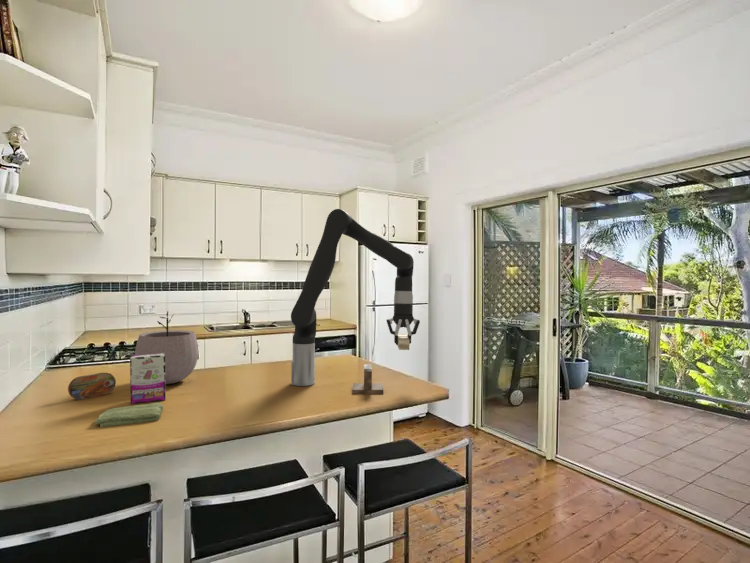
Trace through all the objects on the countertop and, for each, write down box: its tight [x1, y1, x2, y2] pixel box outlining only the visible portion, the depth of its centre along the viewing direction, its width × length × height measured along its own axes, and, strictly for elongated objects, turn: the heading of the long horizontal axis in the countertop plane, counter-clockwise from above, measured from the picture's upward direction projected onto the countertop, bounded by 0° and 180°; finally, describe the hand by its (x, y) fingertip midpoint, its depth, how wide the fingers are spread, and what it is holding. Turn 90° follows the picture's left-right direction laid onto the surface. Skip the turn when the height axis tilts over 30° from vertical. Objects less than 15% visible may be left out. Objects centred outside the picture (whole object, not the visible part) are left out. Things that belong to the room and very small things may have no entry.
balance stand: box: [351, 363, 384, 395], centre depth 171 cm, size 12×10×10 cm
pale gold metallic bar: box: [396, 333, 410, 351], centre depth 173 cm, size 16×4×4 cm, turn 0°
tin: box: [67, 372, 117, 401], centre depth 159 cm, size 15×3×8 cm, turn 143°
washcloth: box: [94, 402, 164, 428], centre depth 135 cm, size 13×18×3 cm
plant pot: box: [134, 310, 199, 385], centre depth 180 cm, size 24×24×30 cm
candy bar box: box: [129, 353, 166, 405], centre depth 154 cm, size 11×5×16 cm, turn 118°
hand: (402, 344), depth 173 cm, fingers closed on pale gold metallic bar, 4 cm apart
